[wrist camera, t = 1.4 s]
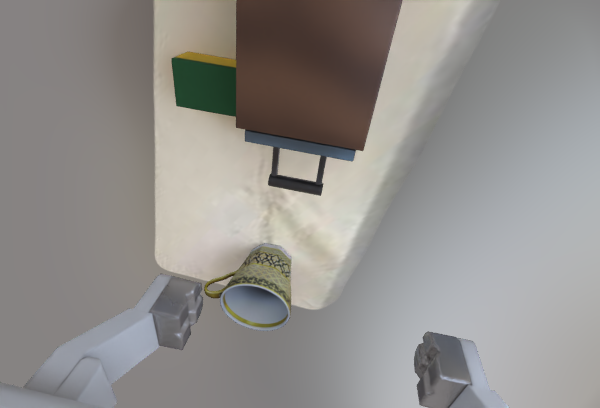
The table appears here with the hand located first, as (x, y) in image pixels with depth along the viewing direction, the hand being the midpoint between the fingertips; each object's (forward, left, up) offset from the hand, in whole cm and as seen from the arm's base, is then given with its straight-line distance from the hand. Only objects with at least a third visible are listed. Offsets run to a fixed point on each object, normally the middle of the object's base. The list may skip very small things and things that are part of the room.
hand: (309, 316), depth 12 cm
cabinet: (-4, -4, -30) cm, 30 cm away
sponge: (+2, -15, -30) cm, 33 cm away
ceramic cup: (+29, -8, -30) cm, 42 cm away
